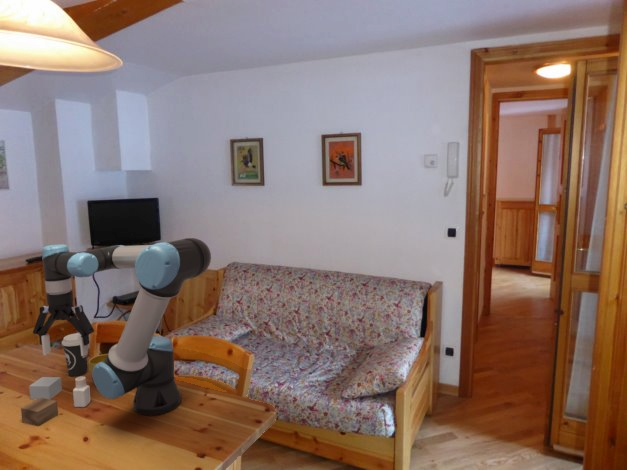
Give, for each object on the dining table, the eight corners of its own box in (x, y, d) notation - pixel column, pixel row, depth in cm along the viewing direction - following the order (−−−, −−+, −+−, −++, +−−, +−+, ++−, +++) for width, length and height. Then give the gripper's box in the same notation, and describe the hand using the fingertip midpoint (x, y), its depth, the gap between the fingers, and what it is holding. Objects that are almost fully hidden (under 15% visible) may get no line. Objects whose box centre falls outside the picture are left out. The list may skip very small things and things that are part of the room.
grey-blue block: (62, 390, 164) (60, 377, 163) (50, 400, 157) (48, 386, 156) (43, 390, 164) (42, 377, 164) (30, 399, 157) (29, 386, 157)
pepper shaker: (79, 401, 155) (77, 375, 154) (91, 402, 155) (89, 375, 154) (73, 407, 151) (71, 380, 150) (85, 408, 151) (83, 381, 150)
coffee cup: (83, 378, 173) (80, 341, 171) (58, 378, 173) (55, 341, 171) (96, 368, 182) (93, 332, 180) (72, 368, 182) (69, 332, 180)
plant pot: (107, 375, 176) (105, 351, 174) (126, 380, 171) (125, 355, 170) (83, 387, 166) (81, 361, 165) (104, 392, 162) (102, 366, 161)
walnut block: (58, 415, 147) (57, 401, 146) (38, 426, 140) (37, 411, 140) (42, 412, 149) (40, 397, 149) (22, 422, 143) (20, 408, 142)
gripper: (101, 289, 151) (107, 350, 153) (33, 289, 154) (39, 349, 156) (87, 294, 143) (94, 359, 146) (16, 294, 146) (23, 357, 149)
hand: (65, 354), depth 151 cm, fingers open, 13 cm apart
